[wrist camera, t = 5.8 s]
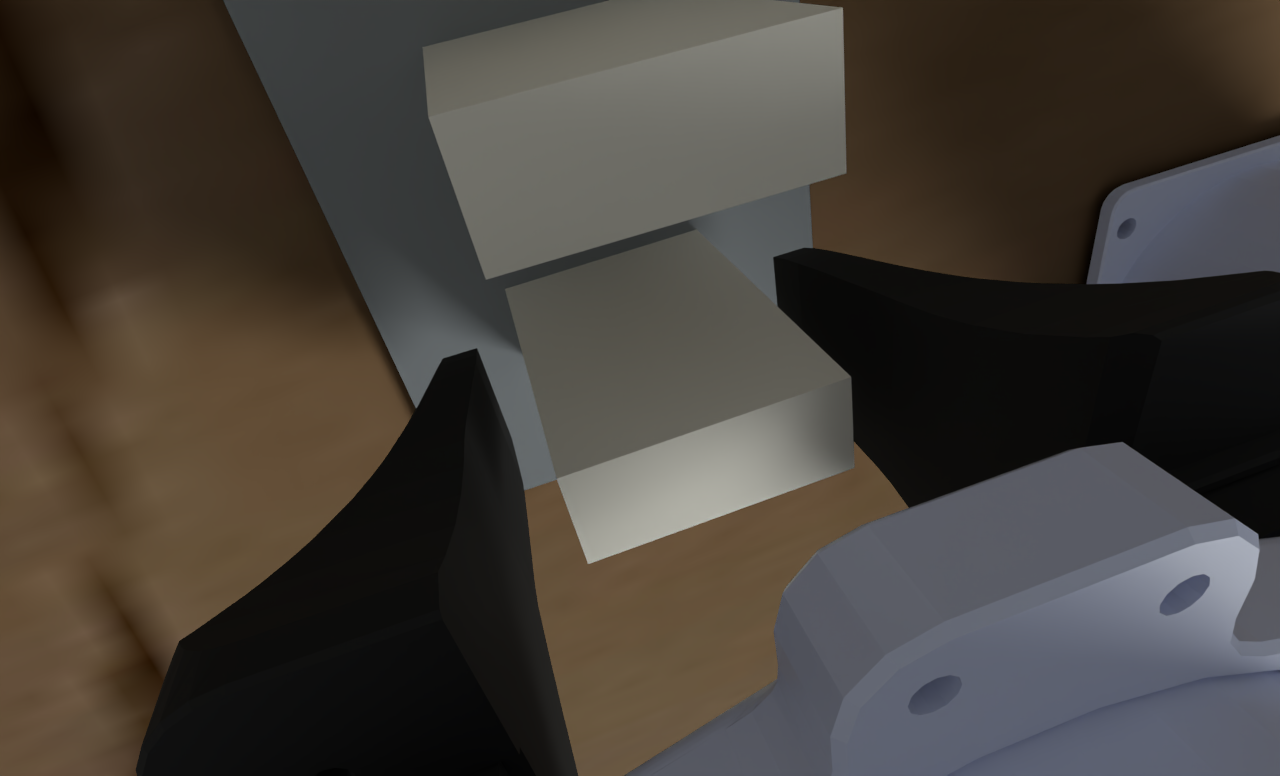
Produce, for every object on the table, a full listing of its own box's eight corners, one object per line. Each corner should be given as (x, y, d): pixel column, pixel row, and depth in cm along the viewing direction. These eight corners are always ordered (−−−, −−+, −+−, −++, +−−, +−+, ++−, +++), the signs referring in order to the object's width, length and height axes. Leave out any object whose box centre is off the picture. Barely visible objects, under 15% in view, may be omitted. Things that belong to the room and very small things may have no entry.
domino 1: (674, 88, 12) (846, 173, 7) (456, 147, 12) (486, 280, 7) (659, -13, 11) (842, 7, 7) (422, 46, 11) (428, 117, 6)
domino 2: (708, 299, 15) (854, 467, 10) (528, 356, 14) (587, 564, 9) (696, 229, 14) (850, 377, 9) (504, 288, 13) (556, 478, 8)
